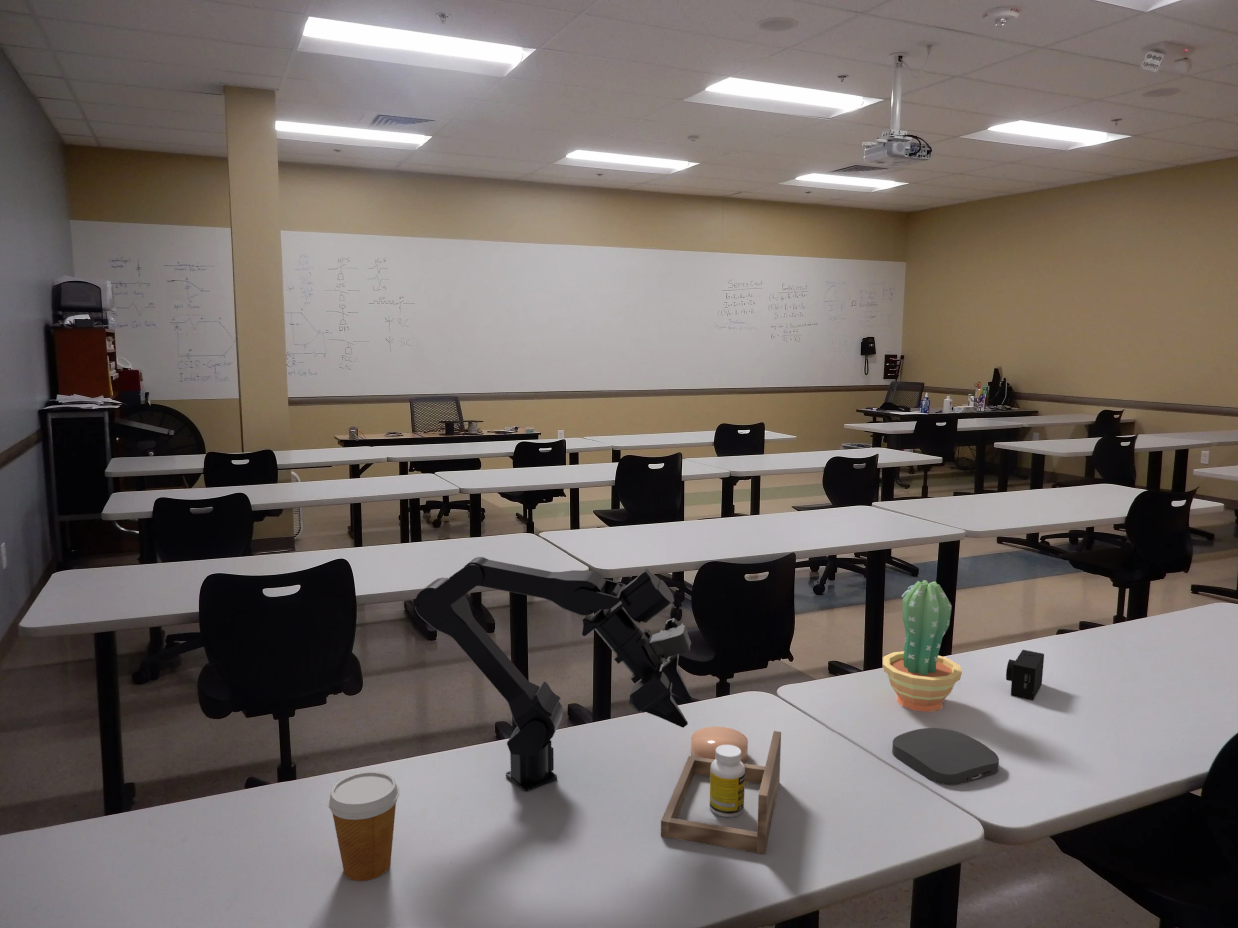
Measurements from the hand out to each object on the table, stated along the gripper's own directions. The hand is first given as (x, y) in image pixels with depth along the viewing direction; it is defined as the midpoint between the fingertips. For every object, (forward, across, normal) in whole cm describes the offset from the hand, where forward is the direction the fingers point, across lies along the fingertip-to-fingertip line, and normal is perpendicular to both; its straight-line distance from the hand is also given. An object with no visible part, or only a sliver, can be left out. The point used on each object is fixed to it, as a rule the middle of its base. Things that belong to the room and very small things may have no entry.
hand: (687, 712), depth 135 cm
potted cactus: (+39, +41, -25) cm, 62 cm away
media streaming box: (+39, +17, -24) cm, 49 cm away
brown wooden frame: (+15, -4, +4) cm, 16 cm away
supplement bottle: (+15, -4, +4) cm, 16 cm away
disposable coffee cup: (-17, -27, +41) cm, 52 cm away
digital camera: (+54, +51, -42) cm, 86 cm away
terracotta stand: (+13, +13, +5) cm, 19 cm away
